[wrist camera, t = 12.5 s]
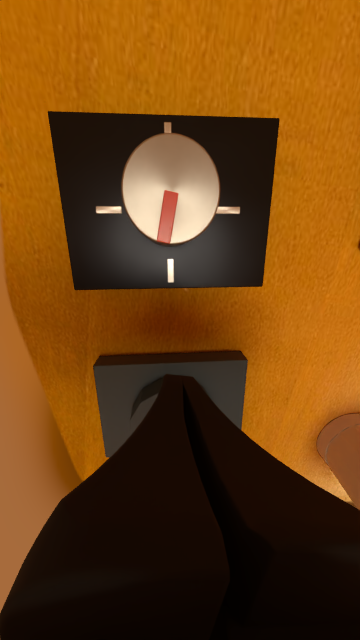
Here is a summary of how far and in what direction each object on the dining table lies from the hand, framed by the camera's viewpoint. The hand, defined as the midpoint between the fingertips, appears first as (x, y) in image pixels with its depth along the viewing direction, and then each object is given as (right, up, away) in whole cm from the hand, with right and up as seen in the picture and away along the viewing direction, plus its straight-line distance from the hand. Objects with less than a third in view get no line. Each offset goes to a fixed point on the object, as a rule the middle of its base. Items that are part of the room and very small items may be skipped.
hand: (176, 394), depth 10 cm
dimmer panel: (-1, +11, +5) cm, 12 cm away
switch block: (0, -4, +10) cm, 11 cm away
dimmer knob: (0, +10, +3) cm, 10 cm away
